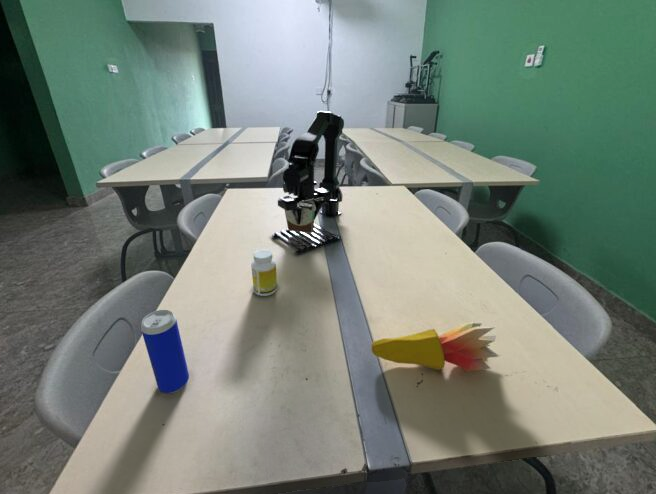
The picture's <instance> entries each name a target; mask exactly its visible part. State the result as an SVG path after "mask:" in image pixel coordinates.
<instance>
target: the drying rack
mask: <svg viewBox="0 0 656 494" xmlns="http://www.w3.org/2000/svg"><path fill="white" fill-rule="evenodd" d="M271 237H272V239H278V238H279V239H281V240H282V241H284V242H285V243H286V244H288V245H289V246H290V247H292V248H294V249H295V250H296V251H295V255H297V256H300V255H302V254H305V253H307V252H311V251H313V250H316V249H319V248H323V247H324V246H328V245H330V244H332V243H335V242H338V241H340V240H341V237H340V236H337V235H336V234H335V233H332V232H331V231H329V230H326V229H325V228H323V227H321V226H320V225H317V224H316V223H314V232H313V233H305V232H296V231H288V228H286V230H284V229H282V230H280V231H279V232H278V231H275V232H274V233H273V234H272V235H271Z"/></svg>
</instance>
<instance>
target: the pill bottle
mask: <svg viewBox="0 0 656 494" xmlns="http://www.w3.org/2000/svg"><path fill="white" fill-rule="evenodd" d="M252 257H253V261H252V262H251V264H250V265H251V267H250V268H251V277H252V287H253V288H252V289H253V292H254V293H255V294H256V295H257V296H261V297H268V296H271V295H273V294H274V293H275V292H276V291H277V290H278V278H277V277H278V275H277V264H276V260H275V259H274V258H273V257H274V256H273V252H272V251H271V250H270V249H258V250H256V251H254V252H253V256H252Z"/></svg>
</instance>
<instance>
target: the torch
mask: <svg viewBox="0 0 656 494" xmlns="http://www.w3.org/2000/svg"><path fill="white" fill-rule="evenodd" d="M482 325H483V322H482V323H480V322H479V323H478V322H477V323H476V321H470V322H465V323H463V324H461V325H458V326H457V327H455V328H453V329H451V330H449V331H448V332H445V333H443V334H441V335H438V332H437V331H436V329H435V328H431V329H427V330H425V331H424V330H423V331H421V332H417V333H413V334H408V335H403V336H398V337H393V338H391V337H390V338H389V337H388V338H381V339H378V340H374V341H373V342H371V346H370V348H371V352H372V354H373V355H374V356H375V357H378V358H380V359H383V360H385V361H389V362H393V363H397V364H407V365H408V364H409V365H418V366H422V367H424V366H425V367H426V368H430V369H432V370H437V371H440V370H441V369H443V368H444V367H445V364H446V362H447V363H449V364H452V365H454V366H457V367H459V368H461V369H462V370H463V371H465V372H472V371H480V370H481V371H482V370H490V369H491V368H492V367H490V365H488V364H487V363H486V362H488V359H489V358H497V357H501V355H500V354H498V353H497V352H496V351H495V350H493V349H491V348H489V347H491V345H490V344H491V343H494V342H495V341H496V337H497V335H487V336H486V334H488V333H489V332H491V331H493V329H495V328H496V327H493V326H482Z"/></svg>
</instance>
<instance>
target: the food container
mask: <svg viewBox="0 0 656 494" xmlns="http://www.w3.org/2000/svg"><path fill="white" fill-rule="evenodd" d="M299 207H300V208H302V211H301V221H300V224H299V225H298V224H297V222H296V220H295V217H294V215H293V213H292V211H291V210H289V211H287V210H285V209H283V210H284V215H285V219H286V226H287V229H288V231H296V233H298V232H304V233H306V234H308V233H315V232H314V228H315V227H314V224H315V220H314V211H315V210H316V206H315V204H314V202H313V201H310V200H309V201H305V202H301V203H299Z"/></svg>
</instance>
